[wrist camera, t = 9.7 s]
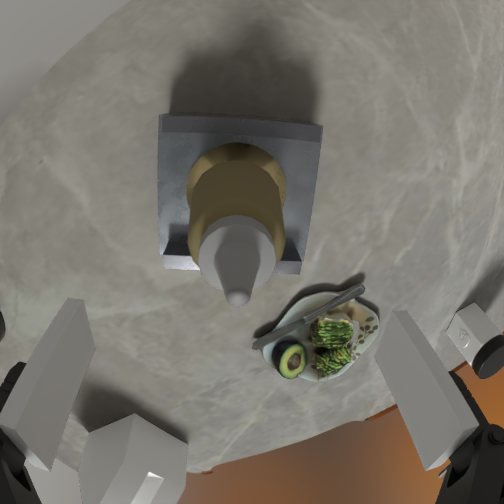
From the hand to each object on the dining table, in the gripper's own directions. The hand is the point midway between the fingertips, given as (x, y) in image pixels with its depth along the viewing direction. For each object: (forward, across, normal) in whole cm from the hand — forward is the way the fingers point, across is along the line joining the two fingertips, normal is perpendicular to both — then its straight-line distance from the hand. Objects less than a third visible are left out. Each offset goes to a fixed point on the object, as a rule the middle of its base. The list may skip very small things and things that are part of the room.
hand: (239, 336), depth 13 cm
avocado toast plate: (+27, +14, -23) cm, 38 cm away
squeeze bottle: (+21, 0, 0) cm, 21 cm away
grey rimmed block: (+26, 0, 0) cm, 26 cm away
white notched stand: (+27, -20, -58) cm, 67 cm away
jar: (+26, +44, -22) cm, 56 cm away
